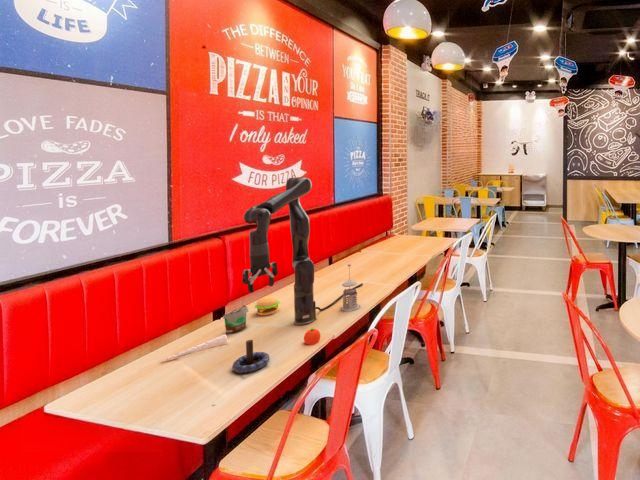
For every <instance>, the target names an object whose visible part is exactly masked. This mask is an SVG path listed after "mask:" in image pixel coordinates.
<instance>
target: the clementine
mask: <svg viewBox="0 0 640 480" xmlns="http://www.w3.org/2000/svg"><path fill="white" fill-rule="evenodd" d="M320 339H321V332H320V331H319V329H317V328H314V327H311V328H309V329H308V330H307V331H306V332H305V333H304V335H303V341H304V343H305V344H306V345H315V344H317V343H318V342H319V341H320Z"/></svg>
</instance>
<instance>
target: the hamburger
mask: <svg viewBox="0 0 640 480" xmlns="http://www.w3.org/2000/svg"><path fill="white" fill-rule="evenodd" d="M280 303H281V301H280V300H279V299H278V298H277V297H276V296H274V295H266V296H263V297H261V298H260V299H259V300H258V301H257V303H256V304H255V306H254V308H255V309H257V310H256V311H257V312H256V313H257V315H259V316H269V315H273V314H275V313H277V312H278V310H279V305H280Z"/></svg>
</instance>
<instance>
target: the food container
mask: <svg viewBox="0 0 640 480" xmlns="http://www.w3.org/2000/svg"><path fill="white" fill-rule="evenodd" d="M248 312H249V309H248V307H247V305H244V304H243V305H242V306H241V307H240V308H237V309H235V310H232V311H231V312H229V313H224V314H223V318H222V319H224V328H225V335H230V334H236V333H239V332H242V331H244V330H245V329H246V325H247V313H248Z"/></svg>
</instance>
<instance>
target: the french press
mask: <svg viewBox="0 0 640 480" xmlns="http://www.w3.org/2000/svg"><path fill="white" fill-rule="evenodd" d="M351 266H352V264H351V263H347V267H348V277H349V278H348V279H349V280H346V281H344V282H343V283H341V286H342V287H344V289H343V291H342V295H343V297H342V307H341V308H340V311H343V312H352V311H356V310H358V309H359V308H360V305H358V292H357V288H355V289H352V288H351V287H355V286H357V285H358V282H357V281H356V280H351V277H350V276H351V274H350V269H351V268H350V267H351Z"/></svg>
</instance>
